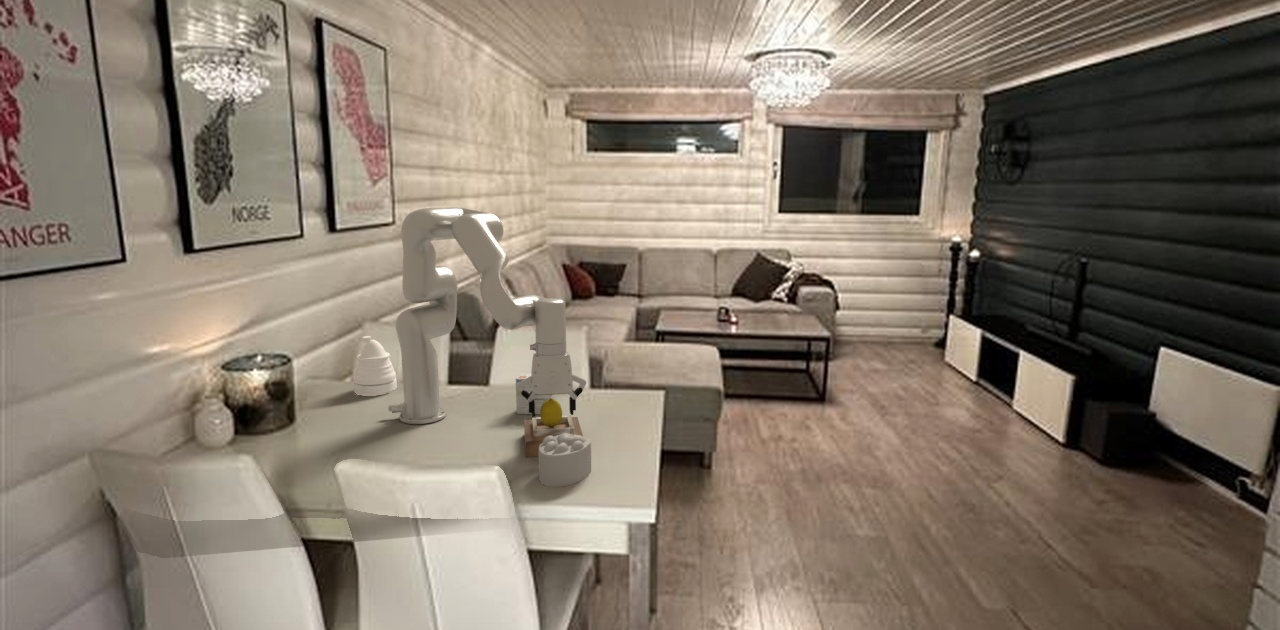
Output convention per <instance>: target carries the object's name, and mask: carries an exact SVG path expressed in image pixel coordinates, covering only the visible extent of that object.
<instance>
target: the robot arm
mask: <svg viewBox="0 0 1280 630" xmlns="http://www.w3.org/2000/svg"><path fill="white" fill-rule="evenodd" d="M400 229H401V231H400V235H401V236H400V237H401V244H402V253H403V254H402V283H401V284H402V295H403V297H404V299H405V300H406V301H407V302H409V303H412V304H422V303H427V302H428V303H429V304H426V305H425V304H423V305H420V306H419V305H418V306H415V307H410V308H407V309H405V310H403V311H401V312H400V314H399V315H398V316H397V318H396V320H395V331H396V335H397V338H398V342H399V347H400V348H399V349H400V355H401V368H402V386H403V399H404V401H403V402H400V404H394V403H393V404H388V409H387V410H388V412H391V413H392V414H397V413H400V414H399V416H398V417H399V421H401V422H402V423H405V424H409V425H424V424H431V423H435V422H439V421H441V420H443V419H444V418H446V415H447V411H446V410H445V408H442V407H441V404H440V403H441V401H440V384H439V381H440V380H439V365H438V360H439V359H438V354H437V351H436V348H435V346H434V345H433V343H432V341H431V339H436V338H439V337H442V336H445V335H447V334H450V333H451V332H452V331H453V330H454V328H455V325H456V323H457V322H456V320H457V311H458V310H457V308H458V306H457V305H458V282H457V278H456V276H455V274H454V272H453V271H452V269H450V268H449V267H447V266H444V265H437V264H436V263H437V253H436V250H435V247H434V245H433V243H432V241H441V240H443V241H444V240H455V241H456V242H457V244H458V245H459V246H460V248H461V249H462V251H463V253H464V254H465V255H466V257H467V258H468V259H469V261H470V262H471V264H472V266H473V267H474V269H475V270H476V271H477V273H478V275H479V291H480V296H481V299H482V302H483V305H484V306H485V308H486V309H487V311H488V312H489V314H490V315H491V316H492V318H493V319H494V321H495V322H496V323H497V324H498V325H499V327H502V328H503V329H505V330H511V331H513V330H518V329H520V328H523V327H524V328H525V327H528V326H533V325H534V328H535V342H534V343H532V344H529V350H530V351H534V353H533V355H532V361H531V370H530V371H531V372H530V373H531V376H530V377H528V378H526V379H524V380H523V381H521V382H519V383H517V388H518V389H519V391H520V393H521V395H522V396H523V397H525V398H526V399H527V400H528V401H529V413H532V414H531V416H532V417H531V418H535V417H536V414H535V402H534V398H535V397H536V395H556V394H557V395H566V394H567V395H569V401H568V402H569V414H570V416H573V415H574V411H577V403H576V402H577V401H576V400H577V398H578V397H579V396H580V395H581V394H582V393H583V391H584V389H585V388H586V386H587V380H586V379H584V378H582V377H579V376H577V375H575V374H573V370H572V369H573V367H572V359H571V354H570V353H569V352H568V351H567V320H566V319H567V313H566V303H565V301H564V300H563V299H561V298H553V297H549V298H548V297H543V296H539V295H537V294H536V295H535V294H527V295H523V296H517V297H513V298H511V295H509V293H508V292H507V291H506V289H505V287H504V285H503V283H502V279H501V273H502V272H503V271H504V270H505V268H506V267H507V266H508V264H509V256H508V255H507V253H506V251H505V250H504V249H503V247H502V246H501V244H500V243H499V242H500V241H501V240H502V238H503V236H504V226H503V223H502V221H501V220H500V219H499V217H498V216H496V215H495V214H493V213H490V212H487V211H482V210H481V211H480V210H476V209H475V210H474V209H469V208H464V207H427V208H420V209H417V210H416V209H415V210H413V211H411V212H410V213H408V214H407V215H406V216H405V217H404V219H403V222H402V224H401V228H400ZM573 382H574V383H578V384H579V385H578V387H577V388H576V389H575V390H573V389H574V388H573V385H574V383H573ZM529 383H531V387H532V391H531V392H530V393H528V392H527V391H526V390H525V389H524V386H526V385H527V384H529Z"/></svg>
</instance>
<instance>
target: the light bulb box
mask: <svg viewBox="0 0 1280 630" xmlns="http://www.w3.org/2000/svg"><path fill="white" fill-rule="evenodd" d="M530 376H531V372H530V373H526V372H525V373H524V372H521V373H520V374H519V375H518V376H517V377H516V378H515V397H516V414H517V415H532V413H529V401H528V400H527V399H526V398H525V397H523V396H522V395H521V393H520V391H519V389H518V388H517V383H519V382H521V381H523V380H524V379H526V378H528V377H530ZM524 389H525V390H526V391H527V392H528V393H530V392H531V391H532V387H531V383H529V384H527V385H526V386H524ZM557 395H558V394H556V395H536V397H535V398H534V402H535V415H539V416H540V410H541V406H542V404H543V403H544V402H545V401H547V400H549V399H550V398H552V399H553V400H556V401H557V402H558V400H557V399H558V398H557V397H558V396H557Z"/></svg>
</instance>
